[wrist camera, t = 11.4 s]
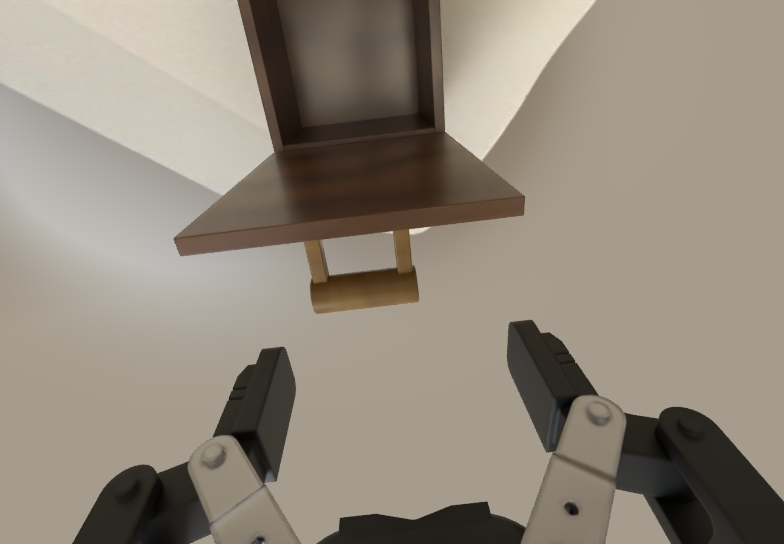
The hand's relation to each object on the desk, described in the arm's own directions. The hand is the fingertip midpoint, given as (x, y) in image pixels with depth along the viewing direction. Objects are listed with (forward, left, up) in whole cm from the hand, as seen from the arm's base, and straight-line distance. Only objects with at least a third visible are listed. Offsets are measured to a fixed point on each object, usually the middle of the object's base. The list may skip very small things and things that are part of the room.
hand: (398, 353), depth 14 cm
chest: (-11, -3, -32) cm, 34 cm away
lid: (-4, -2, -12) cm, 13 cm away
